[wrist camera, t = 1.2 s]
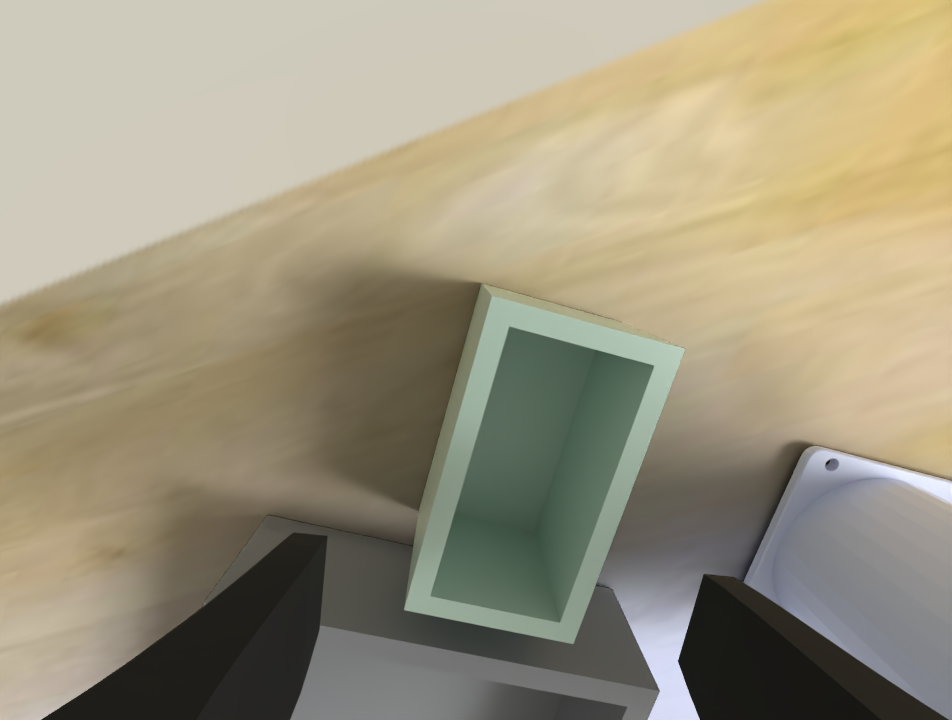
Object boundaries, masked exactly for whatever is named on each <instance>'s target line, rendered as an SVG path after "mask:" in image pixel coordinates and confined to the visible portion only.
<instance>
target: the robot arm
mask: <svg viewBox="0 0 952 720" xmlns="http://www.w3.org/2000/svg"><path fill="white" fill-rule="evenodd" d="M830 459H831V460H830ZM828 460H830V463H829V464H828V465H826V466H825V464H826V462H827V461H828ZM327 538H328V536H324V535H314V534H305V533H295V532H294V533H292V534H291V535H289V536H288V537H287V538H286V539H284V540H283V541H282V542H281V543H280V544H278V545H277V546H276V547H275V548H274V549H272V550H271V551H270V552H269V553H268V554H267V555H265V556H264V557H263V558H262V559H261V560H260V561H258V562H257V563H256V564H255V565H254V566H252V567H251V568H250V569H249V570H248V571H246V572H245V573H244V574H243V575H242V576H240V577H239V578H238V579H237V580H236V581H234V582H233V583H232V584H231V585H229V586H228V587H227V588H226V589H224V590H223V591H222V592H221V593H219V594H218V595H217V596H216V597H214V598H213V599H212V600H211V601H209V602H208V603H207V604H206V605H204V606H203V607H202V608H201V609H199V610H198V611H197V612H196V613H194V614H193V615H192V616H190V617H189V618H188V619H186V620H185V621H184V622H182V623H181V624H180V625H178V626H177V627H176V628H174V629H173V630H172V631H170V632H169V633H167V634H166V635H165V636H163V637H162V638H161V639H159V640H158V641H157V642H155V643H154V644H153V645H151V646H150V647H148V648H147V649H146V650H144V651H143V652H142V653H140V654H139V655H138V656H136V657H135V658H133V659H132V660H131V661H129V662H128V663H126V664H125V665H123V666H122V667H121V668H119V669H118V670H116V671H115V672H113V673H112V674H110V675H109V676H107V677H106V678H105V679H103V680H102V681H100V682H99V683H97V684H96V685H94V686H93V687H91V688H90V689H88V690H87V691H85V692H84V693H82V694H81V695H79V696H78V697H76V698H74V699H73V700H71V701H70V702H68V703H67V704H65V705H63V706H62V707H60V708H59V709H57V710H56V711H54V712H53V713H51V714H49V715H48V716H46V717H45V718H43V719H42V720H290V719H291V716H292V714H293V711H294V709H295V706H296V704H297V701H298V699H299V696H300V694H301V691H302V688H303V684H304V681H305V678H306V674H307V671H308V668H309V665H310V661H311V658H312V654H313V651H314V647H315V644H316V641H317V637H318V634H319V630H320V618H321V607H322V595H323V584H324V572H325V561H326V549H327ZM678 662H679V665H680V668H681V671H682V674H683V676H684V679H685V682H686V685H687V688H688V690H689V693H690V696H691V698H692V701H693V703H694V706H695V708H696V711H697V713H698V716H699V718H700V720H952V481H951V480H947V479H943V478H939V477H936V476H932V475H928V474H924V473H920V472H916V471H912V470H909V469H905V468H901V467H897V466H893V465H889V464H886V463H882V462H878V461H874V460H870V459H866V458H863V457H859V456H855V455H851V454H847V453H843V452H839V451H836V450H832V449H828V448H824V447H820V446H812V447H809V448H807V449H806V450H805V451H804V452H803V453H802V455H801V457H800V459H799V461H798V464H797V466H796V468H795V470H794V472H793V475H792V477H791V479H790V481H789V483H788V485H787V488H786V490H785V492H784V494H783V496H782V499H781V501H780V503H779V505H778V507H777V510H776V512H775V514H774V516H773V518H772V520H771V523H770V525H769V527H768V529H767V531H766V534H765V536H764V538H763V540H762V542H761V544H760V547H759V549H758V551H757V553H756V555H755V558H754V560H753V562H752V564H751V566H750V569H749V571H748V573H747V575H746V577H745V579H744V582H741V581H740V580H738V579H736V578H734V577H728V576H718V575H708V574H704V575H703V579H702V582H701V585H700V589H699V592H698V595H697V599H696V602H695V606H694V609H693V612H692V616H691V619H690V623H689V626H688V629H687V633H686V636H685V639H684V643H683V646H682V650H681V653H680V656H679V660H678Z"/></svg>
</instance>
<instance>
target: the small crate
mask: <svg viewBox="0 0 952 720" xmlns="http://www.w3.org/2000/svg"><path fill="white" fill-rule="evenodd" d="M684 351H685V349H684V348H682V347H679V346H677V345H675V344H672V343H670V342H667V341H665V340H662V339H660V338H658V337H655V336H653V335H650V334H648V333H646V332H643V331H641V330H638V329H636V328H633V327H631V326H629V325H626V324H624V323H621V322H619V321H616V320H613V319H609V318H605V317H602V316H598V315H595V314H591V313H587V312H584V311H580V310H577V309H573V308H569V307H566V306H562V305H559V304H555V303H551V302H548V301H544V300H541V299H537V298H533V297H530V296H526V295H522V294H519V293H515V292H512V291H508V290H504V289H501V288H497V287H494V286H490V285H486V284H483V283H481V286H480V289H479V293H478V296H477V300H476V304H475V307H474V311H473V315H472V318H471V322H470V326H469V329H468V333H467V337H466V340H465V344H464V347H463V351H462V355H461V358H460V362H459V366H458V369H457V373H456V377H455V380H454V384H453V388H452V391H451V395H450V399H449V402H448V406H447V409H446V413H445V417H444V420H443V424H442V428H441V431H440V435H439V439H438V442H437V446H436V450H435V453H434V457H433V460H432V464H431V468H430V471H429V475H428V479H427V482H426V486H425V490H424V493H423V497H422V501H421V504H420V508H419V512H418V518H417V525H416V532H415V538H414V545H413V552H412V559H411V565H410V572H409V579H408V585H407V592H406V599H405V606H404V610H406V611H411V612H416V613H421V614H426V615H431V616H436V617H441V618H446V619H451V620H456V621H461V622H466V623H471V624H476V625H481V626H486V627H491V628H496V629H501V630H506V631H511V632H516V633H521V634H526V635H531V636H536V637H540V638H545V639H550V640H555V641H560V642H565V643H570V644H574V641H575V638H576V636H577V633H578V630H579V628H580V625H581V623H582V620H583V617H584V615H585V612H586V609H587V607H588V604H589V602H590V599H591V596H592V594H593V591H594V588H595V586H596V583H597V580H598V578H599V575H600V573H601V570H602V567H603V565H604V562H605V559H606V557H607V554H608V551H609V549H610V546H611V544H612V541H613V538H614V536H615V533H616V530H617V528H618V525H619V522H620V520H621V517H622V515H623V512H624V509H625V507H626V504H627V501H628V499H629V496H630V493H631V491H632V488H633V486H634V483H635V480H636V478H637V475H638V472H639V470H640V467H641V464H642V462H643V459H644V457H645V454H646V451H647V449H648V446H649V443H650V441H651V438H652V436H653V433H654V430H655V428H656V425H657V422H658V420H659V417H660V414H661V412H662V409H663V407H664V404H665V401H666V399H667V396H668V393H669V391H670V388H671V385H672V383H673V380H674V378H675V375H676V372H677V370H678V367H679V364H680V362H681V359H682V356H683V354H684Z"/></svg>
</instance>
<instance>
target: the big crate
mask: <svg viewBox="0 0 952 720" xmlns="http://www.w3.org/2000/svg"><path fill="white" fill-rule="evenodd" d="M294 532H295V533H305V534H314V535H324V536H328V538H327V549H326V561H325V572H324V584H323V595H322V607H321V618H320V630H319V634H318V637H317V641H316V644H315V647H314V651H313V654H312V658H311V661H310V665H309V668H308V671H307V674H306V678H305V681H304V684H303V688H302V691H301V694H300V696H299V699H298V701H297V704H296V706H295V709H294V711H293V714H292V716H291V719H290V720H647V719H648V717H649V715H650V712H651V710H652V708H653V706H654V703H655V701H656V699H657V696H658V694H659V692H660V690H659V688H658V686H657V684H656V682H655V680H654V678H653V675H652V673H651V671H650V669H649V667H648V665H647V662H646V660H645V658H644V656H643V654H642V652H641V650H640V647H639V645H638V643H637V641H636V639H635V637H634V635H633V632H632V630H631V628H630V626H629V624H628V622H627V620H626V617H625V615H624V613H623V611H622V609H621V607H620V604H619V602H618V600H617V598H616V596H615V594H614V592H613V589H609V588H605V587H600V586H595V588H594V591H593V594H592V596H591V599H590V602H589V604H588V607H587V609H586V612H585V615H584V617H583V620H582V623H581V625H580V628H579V630H578V633H577V636H576V638H575V641H574V644H570V643H565V642H560V641H555V640H550V639H545V638H540V637H536V636H531V635H526V634H521V633H516V632H511V631H506V630H501V629H496V628H491V627H486V626H481V625H476V624H471V623H466V622H461V621H456V620H451V619H446V618H441V617H436V616H431V615H426V614H421V613H416V612H411V611H406V610H404V606H405V599H406V592H407V585H408V579H409V572H410V565H411V559H412V552H413V546H410V545H405V544H400V543H396V542H391V541H386V540H382V539H377V538H372V537H368V536H363V535H358V534H354V533H349V532H344V531H340V530H335V529H331V528H326V527H321V526H317V525H312V524H307V523H303V522H298V521H293V520H289V519H284V518H279V517H275V516H270V515H267V516H266V517H265V519H264V520H263V522H262V523H261V524H260V526H259V527H258V528H257V530H256V531H255V533H254V534H253V535H252V537H251V538H250V539H249V541H248V542H247V544H246V545H245V546H244V548H243V549H242V550H241V552H240V553H239V555H238V556H237V557H236V559H235V560H234V561H233V563H232V564H231V566H230V567H229V568H228V570H227V571H226V572H225V574H224V575H223V577H222V578H221V579H220V581H219V582H218V583H217V585H216V586H215V588H214V589H213V590H212V592H211V593H210V595H209V596H208V597H207V599H206V600H205V601H204V603H203V606H204V605H206V604H207V603H208V602H209V601H211V600H212V599H213V598H214V597H216V596H217V595H218V594H219V593H221V592H222V591H223V590H224V589H226V588H227V587H228V586H229V585H231V584H232V583H233V582H234V581H236V580H237V579H238V578H239V577H240V576H242V575H243V574H244V573H245V572H246V571H248V570H249V569H250V568H251V567H252V566H254V565H255V564H256V563H257V562H258V561H260V560H261V559H262V558H263V557H264V556H265V555H267V554H268V553H269V552H270V551H271V550H272V549H274V548H275V547H276V546H277V545H278V544H280V543H281V542H282V541H283V540H284V539H286V538H287V537H288V536H289V535H291V534H292V533H294Z"/></svg>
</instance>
